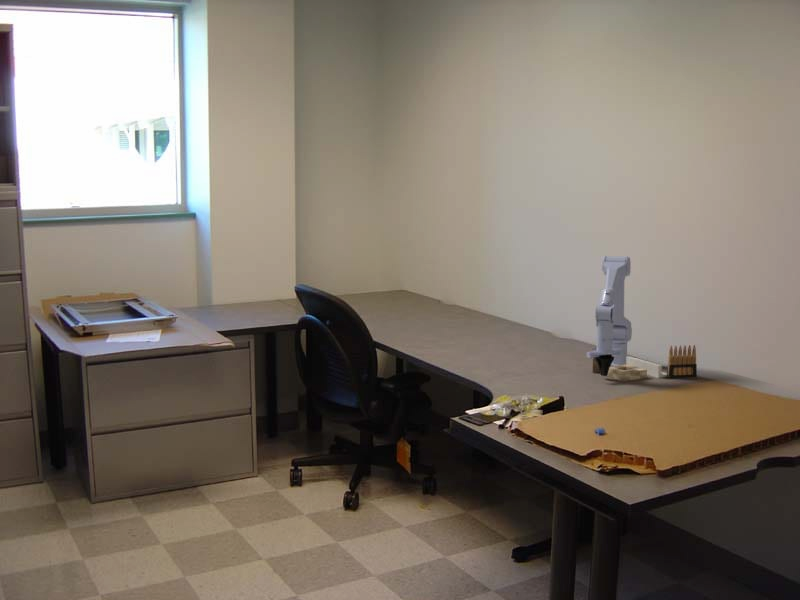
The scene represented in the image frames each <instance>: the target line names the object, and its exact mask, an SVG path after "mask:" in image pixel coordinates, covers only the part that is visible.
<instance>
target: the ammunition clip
mask: <svg viewBox="0 0 800 600" xmlns="http://www.w3.org/2000/svg"><path fill="white" fill-rule="evenodd" d="M696 348H697V347H696V344H694V345H693V346H692V347H691V345H688V348H687V346H686V345H684V346H683V349H682V345H681V344H680V346H679V347H677V345H675V346H674V349H673V346H672V345H670V347H669V352H668V353H669V354H668V360H667V369H666V373H667V377H666V378H668V379H671V380H672V379H692V378H693V379H696V378H698V377H697V372H698V371H697V369H698V368H697V367H698V366H697V349H696Z"/></svg>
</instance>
